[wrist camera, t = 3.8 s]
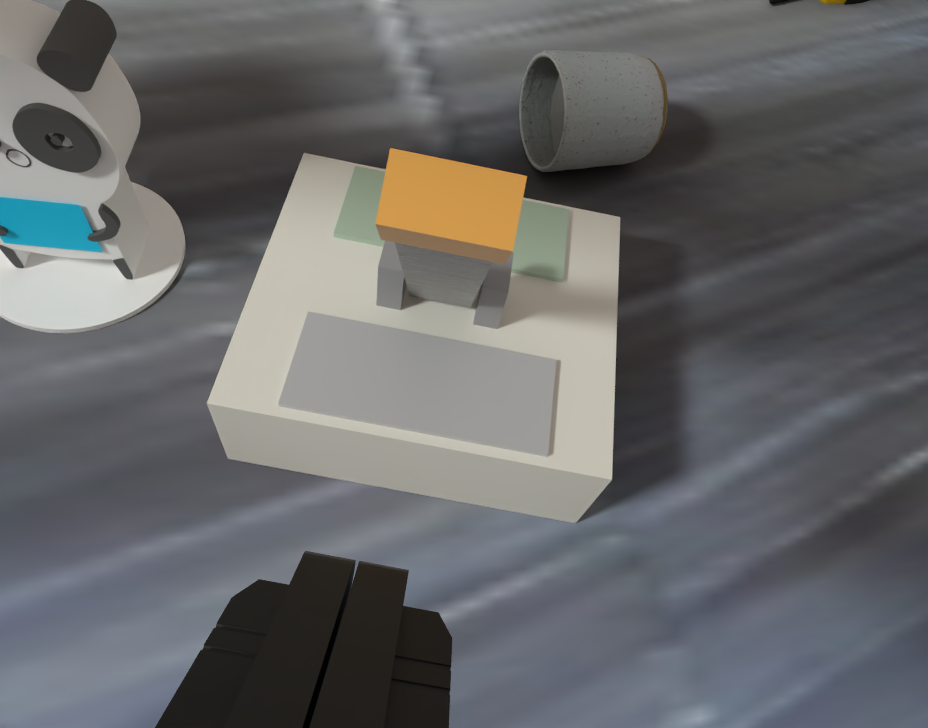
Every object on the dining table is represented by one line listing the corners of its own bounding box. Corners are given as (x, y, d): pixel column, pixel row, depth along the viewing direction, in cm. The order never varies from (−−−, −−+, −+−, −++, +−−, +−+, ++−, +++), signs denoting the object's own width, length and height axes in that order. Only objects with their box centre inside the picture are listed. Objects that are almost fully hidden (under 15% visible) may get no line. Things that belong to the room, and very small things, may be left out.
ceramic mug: (649, 183, 50) (692, 90, 44) (544, 196, 48) (573, 101, 42) (593, 88, 55) (624, -7, 49) (496, 96, 53) (515, -2, 47)
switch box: (575, 523, 36) (635, 451, 28) (228, 458, 35) (193, 368, 28) (589, 282, 44) (638, 177, 37) (309, 226, 44) (300, 108, 36)
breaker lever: (474, 314, 35) (512, 251, 18) (403, 300, 35) (375, 223, 18) (481, 275, 35) (527, 175, 18) (410, 260, 35) (390, 148, 18)
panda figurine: (-77, 320, 37) (-301, 76, 24) (3, 169, 43) (-144, -91, 30) (157, 342, 38) (59, 120, 26) (204, 192, 44) (143, -49, 31)
